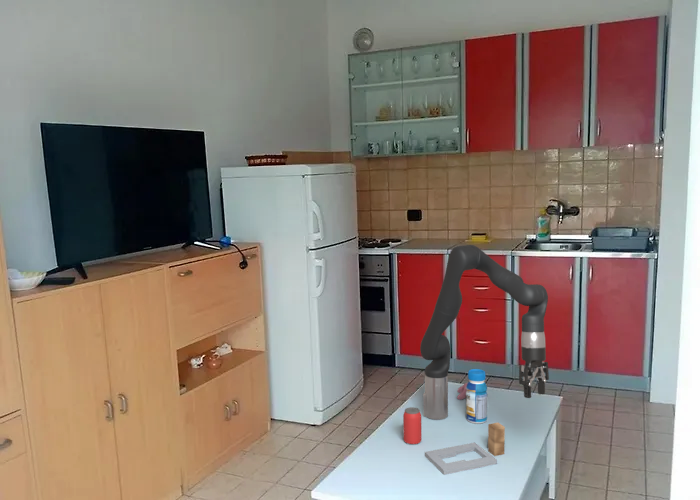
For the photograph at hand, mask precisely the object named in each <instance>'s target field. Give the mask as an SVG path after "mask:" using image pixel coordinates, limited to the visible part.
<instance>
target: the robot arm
mask: <svg viewBox="0 0 700 500" xmlns="http://www.w3.org/2000/svg"><path fill="white" fill-rule="evenodd" d="M469 270H470V271H471V270H478V271H480V272H483V273H484V274H486V275H487V277H488V278H489V280H490V282H491V283H492V284H493V285H494V286H496V287H497V288H499V289H500V290H501V291H503V292H505V293H507V294H509V295H510V297H511V298H512V299H513V300H514V301H515V302H517V303H518V304H519V305H521V306H524V307H528V309H527V312H525V313H524V314H523V315H522V316H521V336H520V339H521V350H520V351H521V360H522V361H524V365H523V364H521V365H519V367H518V368H519V370H518V371H519V372H518V373H519V374H518V378H519V379H518V384H519V385H521V386H523V397H524V398H525V399H531V398H532V383H533V381H535V378H536V381H537V393H538V394H539V395H545V394H546V383H547V381H549V379H550V375H549V363H548V362H547V361H546V356H547V355H546V354H547V353H546V335H545V316H546V311H547V307H548V304H549V303H548V301H549V296H548V295H549V294H548V292H547V289H546V288H545V286H544V285H542V284H532V283H531V284H528V283H526V282H524V280H523V277H522V276H520V275H518V274H516V273H515V272H513V271H511V270H510V269H508V268H506V267H504V266H503V265H501V264H499V262H497V261H496V260H494V259H493V258H491V256H489V255H488V254H487V253H485V251H483V250H482V249H481V248H479V247H478V246H477V245H474V244H465V245H458V246H455V247H454V248H452V249H451V250H450V252H449V255H448V259H447V263H446V268H445V273H444V278H443V281H442V284H441V288H440V291H439V294H438V296H437V299H436V303H435V306H434V309H433V313H432V315H431V318H430V321H429V324H428V326H427V328H426V330H425V332H424V334H423V337H422V339H421V342H420V346H419V347H420V349H419V350H420V355H421V356H422V358H423V359H424V360H427V361H431V362H430V363H429V364H428V365H426V367H425V368H424V392H423V394H422V395H423V396H422V397H423V400H422V401H423V405H422V406H423V408H422V411H423V417H426V418H428V419H429V420H436V421H437V420H439V421H440V420H445V419H446V418H448V416H449V375H448V374H449V370H450V368H451V367H450V366H451V365H450V364H451V344H450V340H449V338H448V337H447V336H445V335H444V332H445V331H446V330H447V329H448V328H449V327H450V326H451V325H452V323H453V322H454V321H455V320H456V319H457V317H458V315H459V312H460V309H461V307H462V304H463V303H462V302H463V296H462V295H463V294H462V291H461V287H460V283H461V280H462V276H463V274H464V272H465V271H469Z"/></svg>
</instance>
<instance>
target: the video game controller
mask: <svg viewBox="0 0 700 500" xmlns="http://www.w3.org/2000/svg"><path fill="white" fill-rule="evenodd" d="M467 384H468V382H465V383H463V385H461V386H460V387H458V388H457V393H459V394H458V395H457V397H456V399H457V400H459V401H461V400H464V399H466V392H467V389H466V386H467Z"/></svg>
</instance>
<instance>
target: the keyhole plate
mask: <svg viewBox="0 0 700 500" xmlns="http://www.w3.org/2000/svg"><path fill="white" fill-rule="evenodd" d="M470 452H475V453H476V454H477V455H479V457H480V458H479V457H478V458H474V459H469V460H466V459H461V460H457V461H456V460H455V461H451V462H445V461H444V459H447V458H453V457H457V455H460V454H465V453H470ZM424 457H425V458H426V459H427V460H428V462H430V463H431V464H432V465H433V466H434V467H435V468H436V469H437V470H439V472H441V474H442V475H444V476H445V475H449V474H454V473H455V474H456V473H460V472H464V471H469V470H474V469H478V468H483V467H489V466H493V465H497V464H498V463H497V462H498V460H497V458H495V456H494V455H492V454H491V453H490V452H487V451H486V450H485V449H484V448H482V447H481V446H480V445H479V444H478V443H476V442H469V443H463V444H459V445H454V446H449V447H444V448H443V447H442V448H439V449H433V450H427V451H424Z"/></svg>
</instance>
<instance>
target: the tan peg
mask: <svg viewBox="0 0 700 500" xmlns="http://www.w3.org/2000/svg"><path fill="white" fill-rule="evenodd" d="M487 427H488V428H487V432H488V433H487V434H488V436H487V439H488V440H487V448H488V449H487V451H488V453H489V454H490V455H492V456H493V457H498V456H502V455H505V447H506V446H505V439H506V438H505V437H506V435H505V430H506V427H505V426H504V425H502V424H501V423H500V422H494V423H493V422H492V423H489V424H488V425H487Z"/></svg>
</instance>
